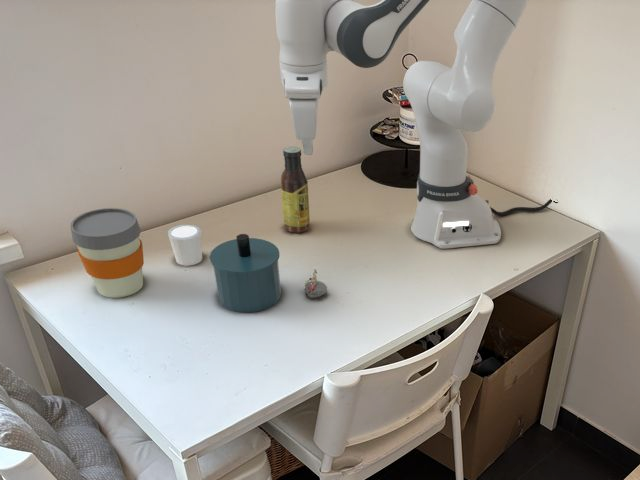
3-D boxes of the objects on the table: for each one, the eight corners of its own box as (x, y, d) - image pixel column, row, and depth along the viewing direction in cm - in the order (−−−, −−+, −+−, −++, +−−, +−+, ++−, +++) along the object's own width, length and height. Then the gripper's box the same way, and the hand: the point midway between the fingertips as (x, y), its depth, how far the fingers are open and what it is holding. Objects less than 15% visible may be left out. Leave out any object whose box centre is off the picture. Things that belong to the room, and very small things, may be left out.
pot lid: (282, 242, 150) (280, 220, 147) (276, 276, 139) (274, 254, 136) (215, 242, 148) (212, 220, 145) (205, 276, 137) (201, 254, 134)
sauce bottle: (305, 235, 171) (300, 157, 159) (280, 232, 171) (273, 153, 159) (313, 223, 176) (309, 146, 164) (289, 220, 176) (283, 143, 164)
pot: (283, 279, 155) (279, 241, 149) (278, 312, 145) (274, 272, 139) (223, 279, 153) (217, 241, 147) (214, 312, 143) (208, 272, 138)
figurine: (331, 293, 152) (330, 269, 148) (320, 303, 148) (318, 279, 145) (309, 287, 153) (308, 263, 149) (298, 296, 150) (296, 272, 146)
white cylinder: (211, 257, 160) (207, 230, 156) (188, 270, 155) (183, 242, 151) (189, 248, 163) (184, 221, 158) (166, 260, 158) (160, 232, 154)
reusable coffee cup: (165, 283, 151) (151, 219, 142) (114, 309, 142) (96, 243, 133) (126, 264, 156) (110, 201, 146) (74, 288, 147) (54, 224, 138)
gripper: (290, 58, 144) (296, 125, 152) (284, 92, 128) (290, 164, 136) (321, 58, 144) (326, 125, 153) (319, 92, 129) (324, 164, 137)
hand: (309, 144), depth 145 cm, fingers open, 8 cm apart
